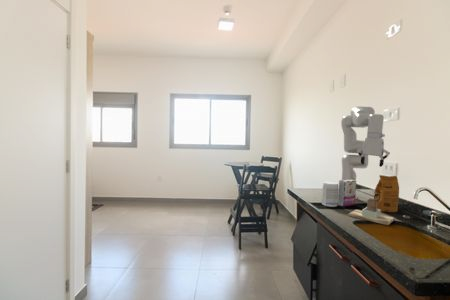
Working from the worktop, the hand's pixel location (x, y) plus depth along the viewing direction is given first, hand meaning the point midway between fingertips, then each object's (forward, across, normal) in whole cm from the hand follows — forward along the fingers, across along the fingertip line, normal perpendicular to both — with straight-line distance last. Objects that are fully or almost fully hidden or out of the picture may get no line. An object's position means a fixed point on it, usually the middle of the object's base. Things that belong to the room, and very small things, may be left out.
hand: (371, 165), depth 161 cm
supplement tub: (+30, +22, 0) cm, 37 cm away
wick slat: (+26, -4, +8) cm, 28 cm away
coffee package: (+30, -5, -17) cm, 34 cm away
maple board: (+28, -4, +8) cm, 30 cm away
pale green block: (+27, -4, +8) cm, 29 cm away
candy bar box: (+30, +16, -10) cm, 35 cm away
